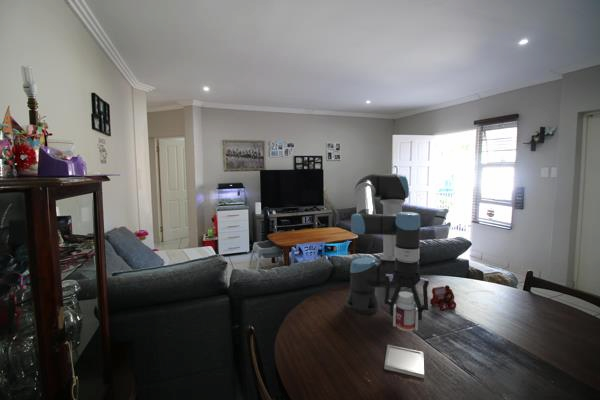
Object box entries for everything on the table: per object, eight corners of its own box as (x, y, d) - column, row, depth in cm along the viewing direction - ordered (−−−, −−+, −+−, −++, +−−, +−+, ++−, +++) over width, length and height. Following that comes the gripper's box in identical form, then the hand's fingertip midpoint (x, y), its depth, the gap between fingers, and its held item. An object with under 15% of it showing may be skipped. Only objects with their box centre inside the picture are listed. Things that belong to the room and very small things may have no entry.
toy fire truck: (459, 308, 133) (460, 287, 132) (438, 312, 129) (439, 291, 128) (447, 302, 140) (448, 282, 139) (427, 306, 136) (427, 285, 135)
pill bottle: (392, 322, 98) (393, 291, 97) (409, 321, 98) (410, 290, 97) (400, 332, 92) (401, 299, 90) (418, 331, 92) (419, 298, 91)
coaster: (384, 368, 93) (384, 365, 93) (387, 347, 104) (387, 344, 104) (424, 378, 88) (424, 374, 88) (422, 355, 99) (423, 351, 99)
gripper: (375, 259, 93) (374, 326, 95) (440, 266, 86) (437, 338, 88) (378, 253, 100) (377, 316, 102) (438, 259, 93) (436, 326, 95)
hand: (405, 326), depth 95 cm, fingers closed on pill bottle, 6 cm apart
